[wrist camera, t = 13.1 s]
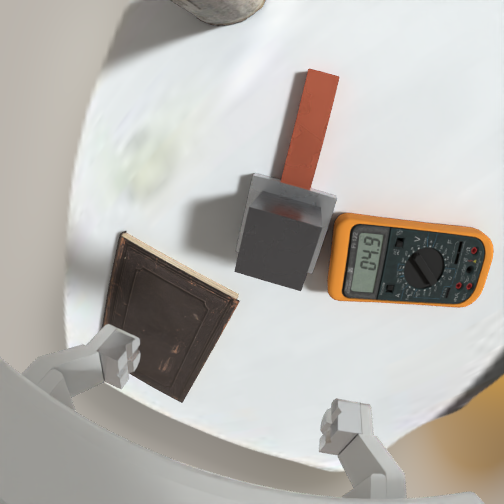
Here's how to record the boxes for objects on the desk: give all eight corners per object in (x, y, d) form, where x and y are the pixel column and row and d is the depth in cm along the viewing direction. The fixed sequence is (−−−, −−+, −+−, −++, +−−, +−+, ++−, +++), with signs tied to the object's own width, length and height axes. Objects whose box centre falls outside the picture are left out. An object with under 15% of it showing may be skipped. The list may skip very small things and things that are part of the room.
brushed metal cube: (262, 190, 28) (249, 206, 22) (321, 207, 27) (322, 227, 22) (249, 244, 30) (234, 271, 25) (304, 260, 30) (300, 291, 24)
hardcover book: (243, 291, 35) (239, 302, 33) (187, 393, 45) (182, 403, 43) (127, 228, 35) (117, 235, 33) (104, 344, 45) (97, 352, 43)
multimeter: (466, 294, 29) (477, 310, 26) (325, 285, 32) (326, 302, 29) (485, 226, 26) (500, 237, 22) (334, 208, 29) (336, 218, 26)
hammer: (281, 64, 24) (275, 53, 20) (365, 87, 23) (374, 79, 19) (238, 246, 32) (227, 265, 28) (312, 268, 31) (311, 290, 27)
